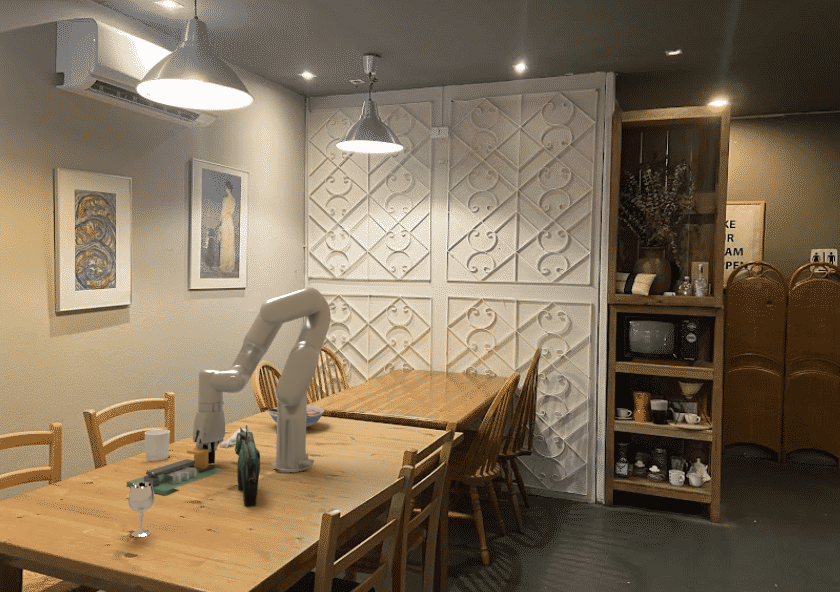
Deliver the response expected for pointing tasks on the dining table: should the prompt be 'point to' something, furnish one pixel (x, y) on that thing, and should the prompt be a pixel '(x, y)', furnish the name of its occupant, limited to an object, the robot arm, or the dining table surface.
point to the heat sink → (172, 476)
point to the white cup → (157, 444)
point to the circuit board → (169, 488)
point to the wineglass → (141, 503)
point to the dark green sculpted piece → (247, 466)
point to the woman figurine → (231, 439)
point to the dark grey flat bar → (170, 467)
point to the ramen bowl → (311, 414)
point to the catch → (200, 457)
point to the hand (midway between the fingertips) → (209, 462)
